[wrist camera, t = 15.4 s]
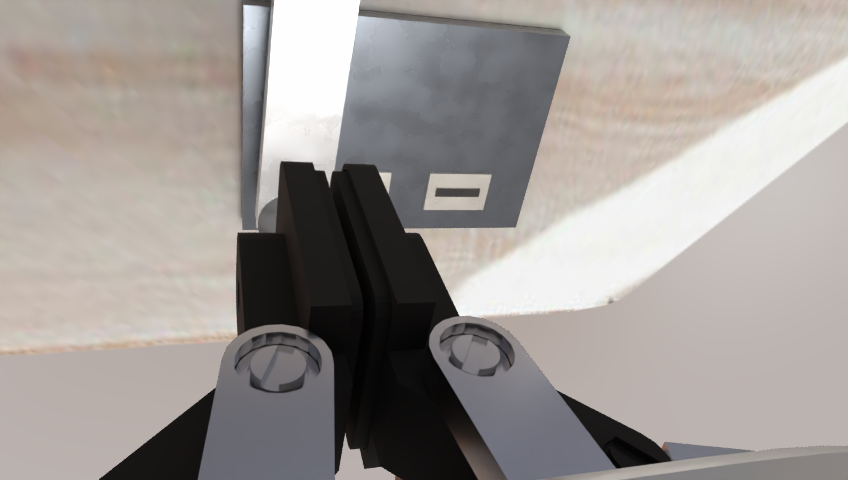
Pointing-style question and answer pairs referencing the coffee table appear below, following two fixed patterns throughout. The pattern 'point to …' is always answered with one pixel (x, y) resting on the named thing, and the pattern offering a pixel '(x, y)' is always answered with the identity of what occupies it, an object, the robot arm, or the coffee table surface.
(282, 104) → the swing bar
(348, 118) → the dark grey base plate
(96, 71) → the coffee table surface
